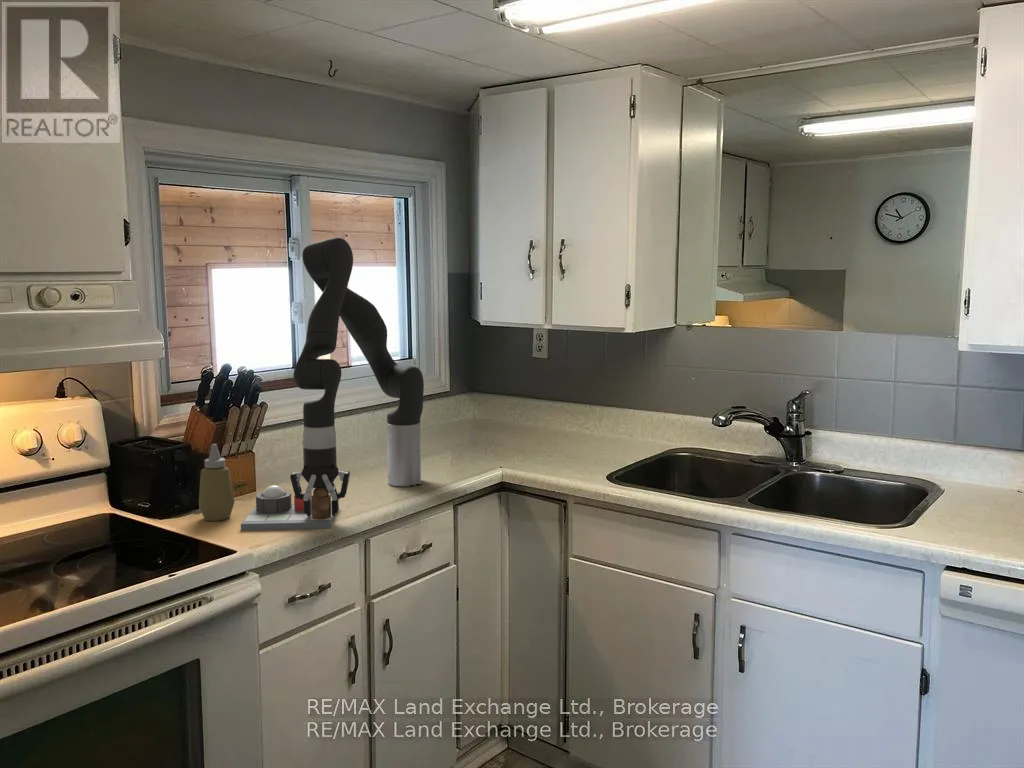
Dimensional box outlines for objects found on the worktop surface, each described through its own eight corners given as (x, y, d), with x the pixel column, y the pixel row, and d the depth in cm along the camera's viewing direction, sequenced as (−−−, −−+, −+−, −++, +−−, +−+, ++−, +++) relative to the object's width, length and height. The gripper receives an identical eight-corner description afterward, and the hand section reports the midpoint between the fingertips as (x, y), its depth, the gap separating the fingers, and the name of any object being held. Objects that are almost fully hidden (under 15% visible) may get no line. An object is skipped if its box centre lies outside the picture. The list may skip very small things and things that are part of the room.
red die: (312, 506, 200) (311, 491, 199) (309, 510, 196) (309, 495, 196) (297, 506, 199) (296, 491, 199) (294, 510, 196) (294, 495, 195)
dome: (286, 502, 200) (285, 482, 199) (282, 508, 195) (281, 487, 194) (265, 502, 199) (265, 483, 199) (261, 508, 194) (260, 488, 194)
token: (332, 513, 193) (331, 483, 192) (329, 519, 189) (328, 488, 188) (313, 514, 193) (312, 483, 192) (310, 519, 188) (309, 488, 187)
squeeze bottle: (204, 525, 189) (201, 449, 186) (195, 516, 195) (191, 443, 193) (239, 519, 193) (236, 445, 191) (229, 511, 200) (226, 439, 198)
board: (338, 508, 202) (338, 489, 202) (329, 528, 187) (329, 507, 186) (257, 510, 201) (256, 490, 200) (241, 530, 185) (240, 509, 184)
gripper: (352, 441, 193) (354, 510, 195) (291, 441, 192) (293, 511, 194) (349, 447, 185) (350, 519, 188) (285, 448, 184) (287, 520, 186)
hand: (321, 515), depth 191 cm, fingers open, 5 cm apart
